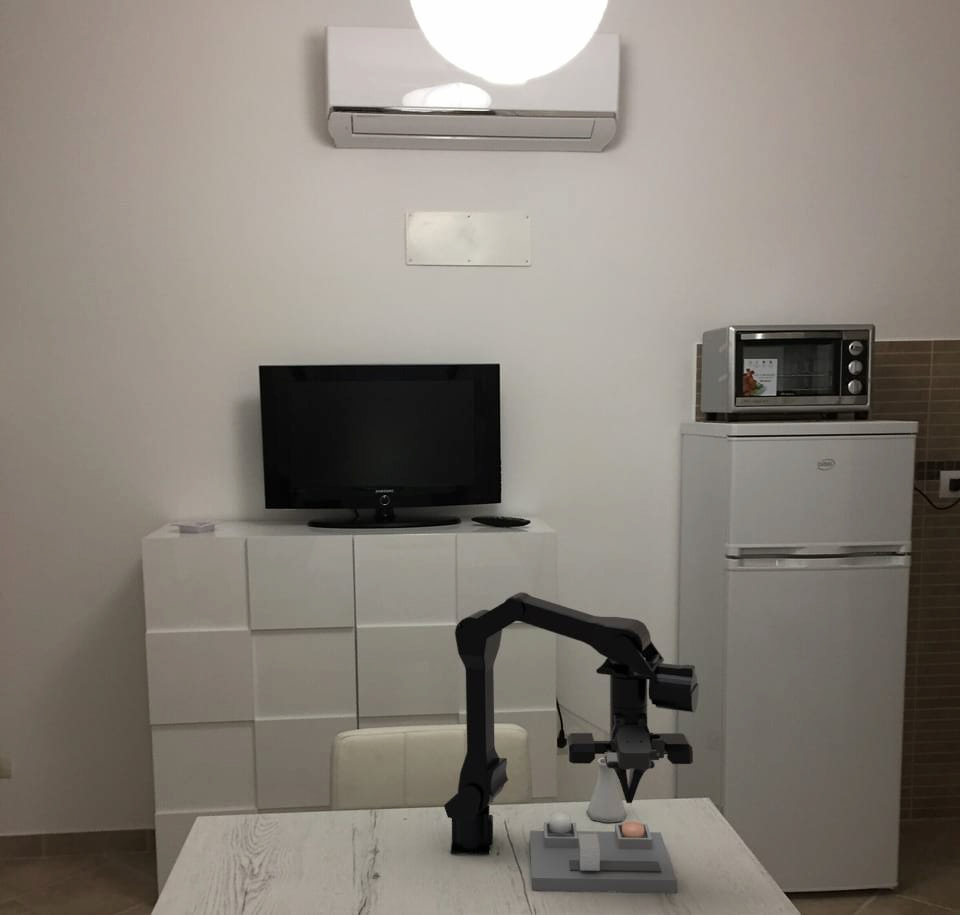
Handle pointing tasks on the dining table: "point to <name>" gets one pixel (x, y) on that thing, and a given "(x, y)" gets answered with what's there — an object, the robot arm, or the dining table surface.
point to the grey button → (560, 822)
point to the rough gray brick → (588, 852)
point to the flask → (606, 797)
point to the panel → (601, 862)
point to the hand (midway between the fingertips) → (628, 802)
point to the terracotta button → (632, 830)
